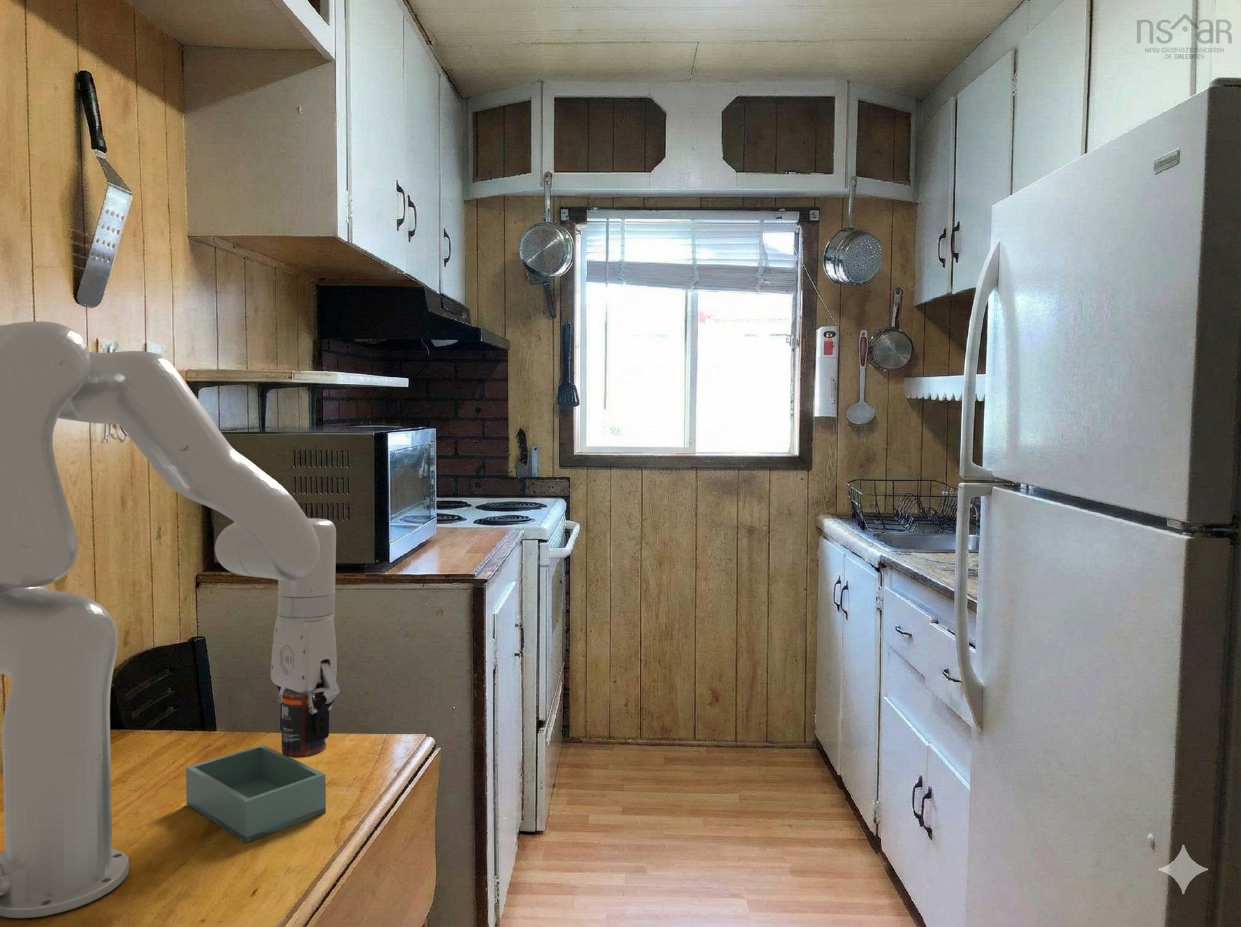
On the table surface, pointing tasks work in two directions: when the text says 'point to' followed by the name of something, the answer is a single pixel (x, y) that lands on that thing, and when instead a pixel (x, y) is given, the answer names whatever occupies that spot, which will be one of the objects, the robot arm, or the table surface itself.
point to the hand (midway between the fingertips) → (304, 733)
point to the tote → (255, 792)
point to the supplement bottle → (297, 726)
